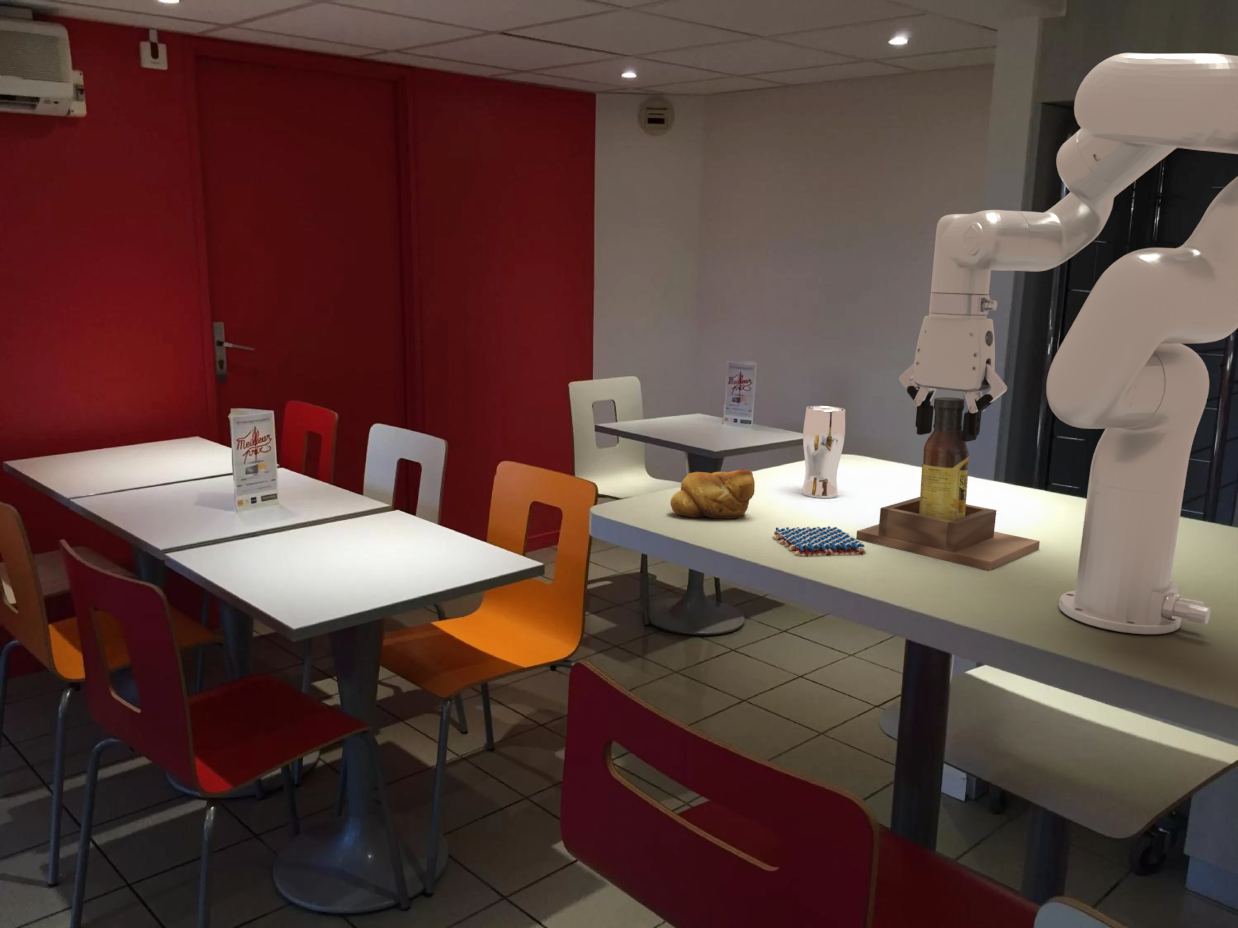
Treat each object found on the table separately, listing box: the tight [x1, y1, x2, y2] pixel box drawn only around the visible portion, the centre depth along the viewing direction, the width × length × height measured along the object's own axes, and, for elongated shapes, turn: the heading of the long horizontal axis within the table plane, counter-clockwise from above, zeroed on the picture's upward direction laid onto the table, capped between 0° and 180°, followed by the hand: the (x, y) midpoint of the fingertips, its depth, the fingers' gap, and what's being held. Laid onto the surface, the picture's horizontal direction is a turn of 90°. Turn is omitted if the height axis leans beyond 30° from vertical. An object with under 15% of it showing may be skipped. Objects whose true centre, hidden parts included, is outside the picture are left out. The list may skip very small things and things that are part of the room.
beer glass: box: [801, 405, 846, 499], centre depth 173 cm, size 7×7×15 cm
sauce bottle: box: [919, 396, 970, 521], centre depth 142 cm, size 6×6×20 cm
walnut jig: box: [855, 496, 1041, 571], centre depth 144 cm, size 20×16×5 cm
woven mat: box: [771, 525, 867, 557], centre depth 142 cm, size 10×11×2 cm
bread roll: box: [670, 468, 756, 520], centre depth 157 cm, size 13×10×8 cm
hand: (946, 435), depth 141 cm, fingers open, 6 cm apart
